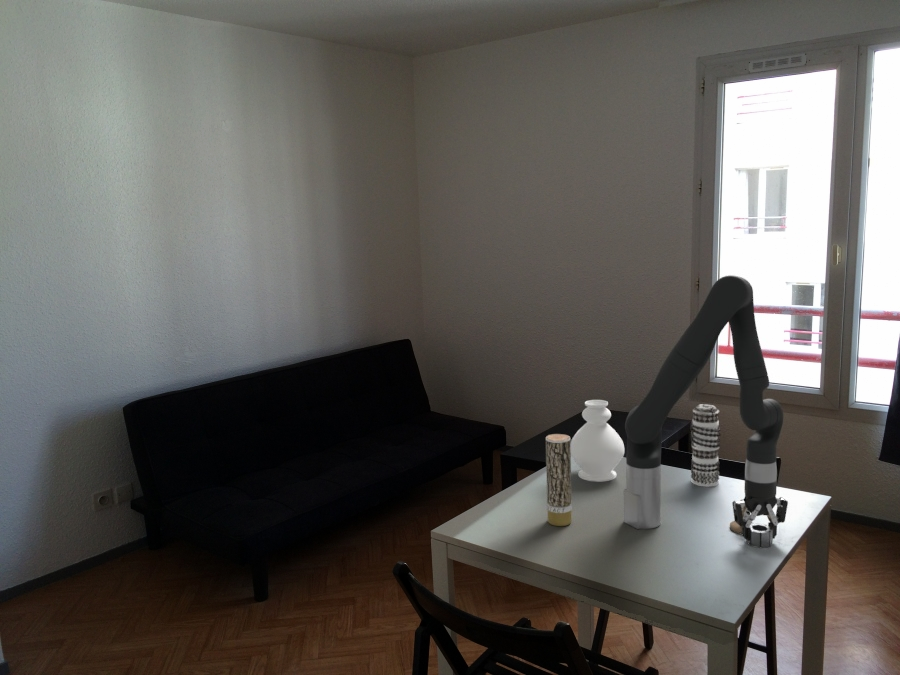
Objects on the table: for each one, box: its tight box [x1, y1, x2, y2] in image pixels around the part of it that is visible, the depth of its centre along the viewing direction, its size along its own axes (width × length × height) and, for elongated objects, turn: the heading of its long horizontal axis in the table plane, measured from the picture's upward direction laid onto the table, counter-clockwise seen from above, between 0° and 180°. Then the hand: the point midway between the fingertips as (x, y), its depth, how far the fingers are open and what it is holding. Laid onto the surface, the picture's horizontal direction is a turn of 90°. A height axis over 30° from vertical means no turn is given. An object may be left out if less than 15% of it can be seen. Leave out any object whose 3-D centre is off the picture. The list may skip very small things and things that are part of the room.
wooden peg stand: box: [729, 499, 753, 535], centre depth 197 cm, size 7×7×8 cm
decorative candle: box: [689, 403, 722, 488], centre depth 231 cm, size 9×9×25 cm
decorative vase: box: [570, 399, 625, 483], centre depth 242 cm, size 18×18×25 cm
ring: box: [745, 522, 774, 549], centre depth 189 cm, size 6×6×4 cm
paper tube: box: [545, 433, 573, 527], centre depth 205 cm, size 7×7×25 cm
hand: (759, 538), depth 189 cm, fingers closed on ring, 6 cm apart
